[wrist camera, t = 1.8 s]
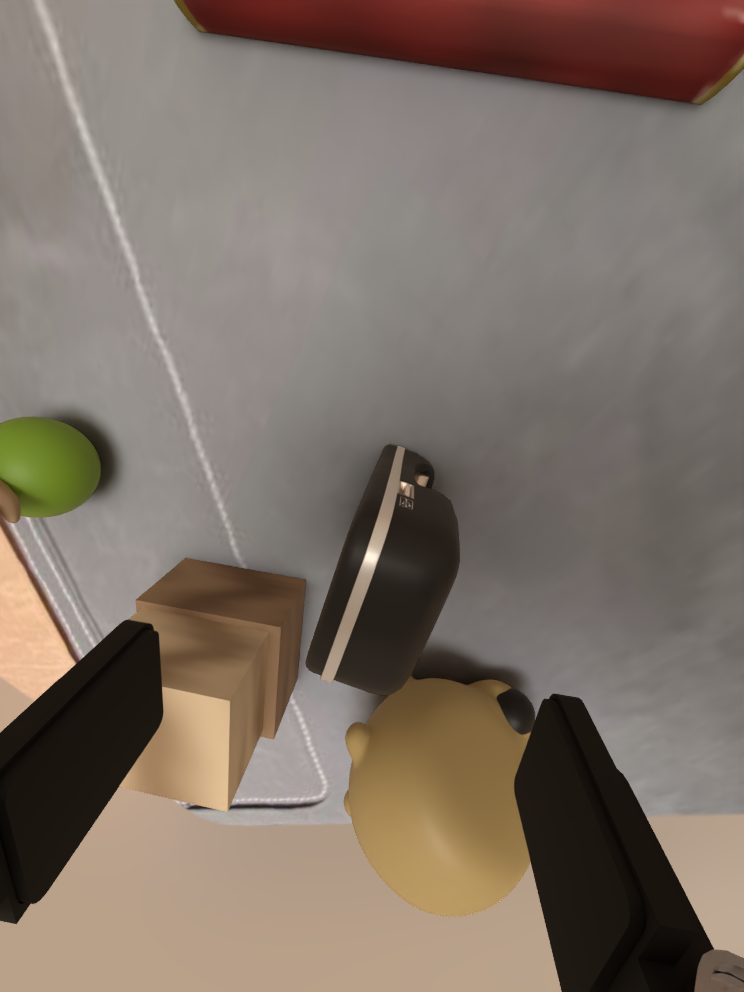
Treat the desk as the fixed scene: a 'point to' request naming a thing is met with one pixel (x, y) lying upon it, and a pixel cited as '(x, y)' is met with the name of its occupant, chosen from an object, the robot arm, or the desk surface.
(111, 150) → the desk surface
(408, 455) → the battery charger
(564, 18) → the hardcover book
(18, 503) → the snail figurine
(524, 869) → the toy pig
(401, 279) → the desk surface
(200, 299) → the desk surface
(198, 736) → the oak block
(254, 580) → the walnut block
